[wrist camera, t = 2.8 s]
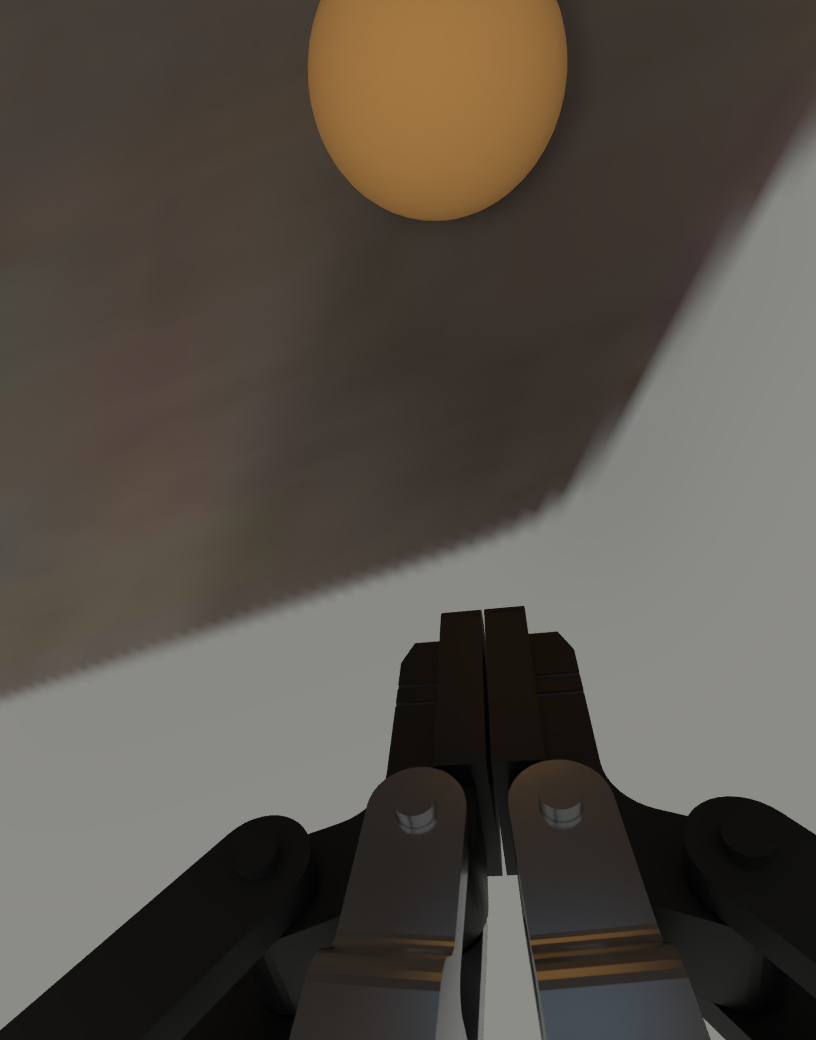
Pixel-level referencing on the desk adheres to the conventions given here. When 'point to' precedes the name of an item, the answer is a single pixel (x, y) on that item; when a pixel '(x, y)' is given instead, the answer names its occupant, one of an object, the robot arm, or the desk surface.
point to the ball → (436, 97)
